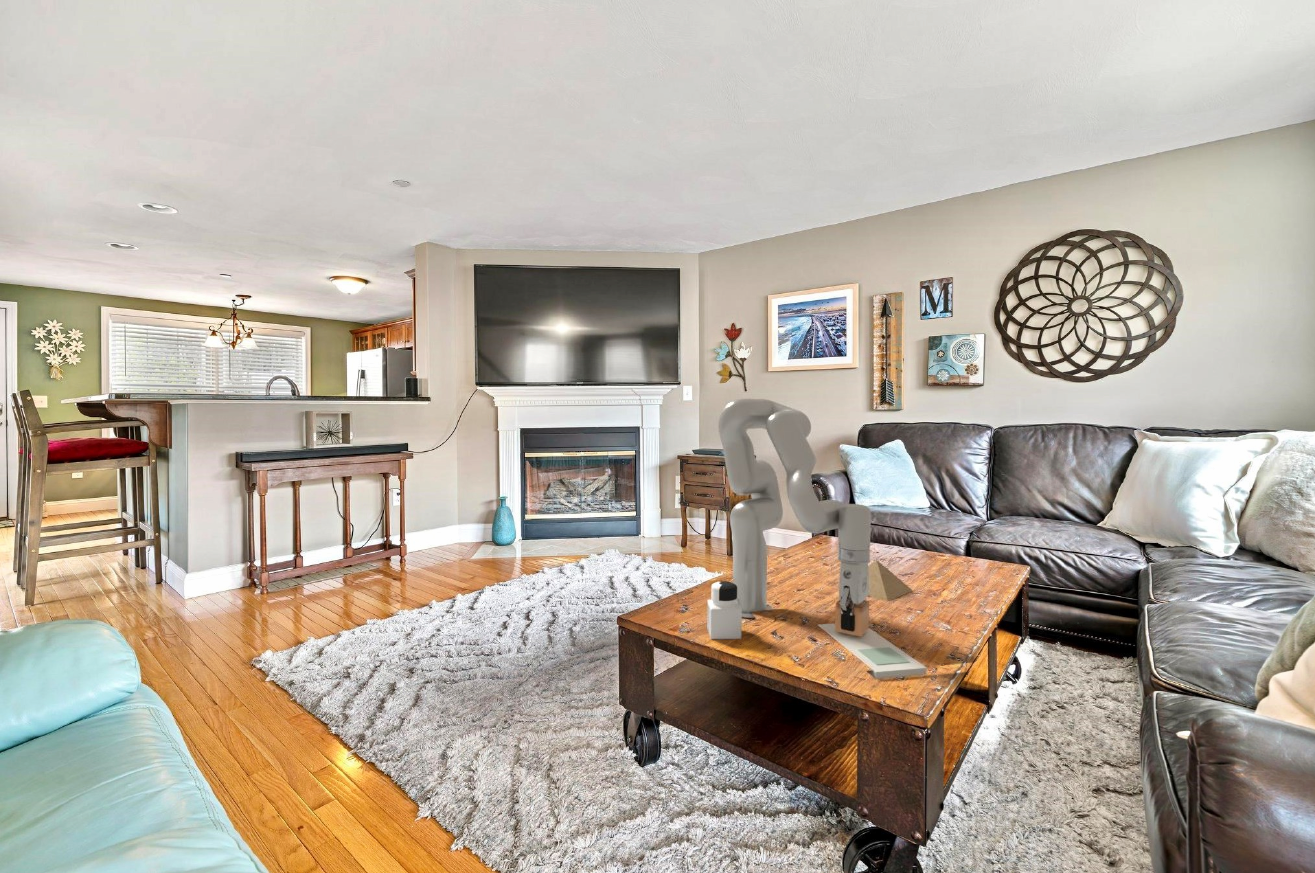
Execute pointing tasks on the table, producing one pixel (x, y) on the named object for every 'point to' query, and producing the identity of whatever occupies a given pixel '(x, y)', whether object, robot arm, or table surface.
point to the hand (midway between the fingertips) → (852, 625)
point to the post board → (877, 654)
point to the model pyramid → (885, 583)
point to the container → (724, 612)
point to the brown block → (860, 618)
